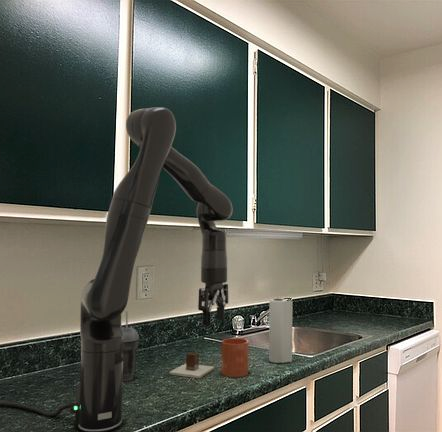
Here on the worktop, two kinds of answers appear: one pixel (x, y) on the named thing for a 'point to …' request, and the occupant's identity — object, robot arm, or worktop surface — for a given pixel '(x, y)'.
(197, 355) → the lid
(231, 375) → the tumbler
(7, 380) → the worktop surface
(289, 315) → the paper towel roll
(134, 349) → the beverage cup
